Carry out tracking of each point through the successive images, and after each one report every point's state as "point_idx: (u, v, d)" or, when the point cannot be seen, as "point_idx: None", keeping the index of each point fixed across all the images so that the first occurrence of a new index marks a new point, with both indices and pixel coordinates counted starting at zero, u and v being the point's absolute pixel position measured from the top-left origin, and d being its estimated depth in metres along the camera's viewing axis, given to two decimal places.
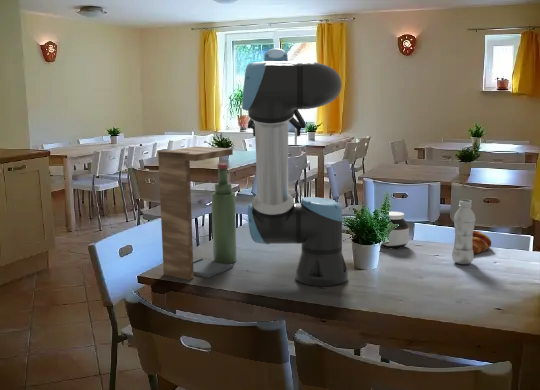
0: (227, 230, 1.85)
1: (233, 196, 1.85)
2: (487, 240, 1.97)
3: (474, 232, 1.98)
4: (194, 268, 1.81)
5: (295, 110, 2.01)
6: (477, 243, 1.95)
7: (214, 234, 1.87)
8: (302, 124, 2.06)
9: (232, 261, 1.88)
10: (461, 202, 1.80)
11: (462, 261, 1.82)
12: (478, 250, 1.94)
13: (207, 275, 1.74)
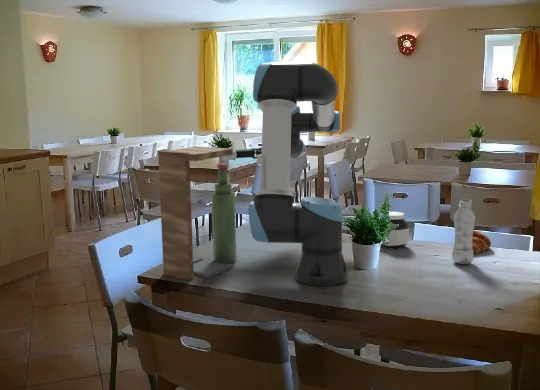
0: (227, 230, 1.85)
1: (233, 196, 1.85)
2: (486, 240, 1.97)
3: (473, 232, 1.99)
4: (194, 268, 1.81)
5: None
6: (476, 243, 1.95)
7: (214, 234, 1.87)
8: None
9: (232, 261, 1.88)
10: (461, 202, 1.80)
11: (462, 261, 1.82)
12: (477, 250, 1.94)
13: (207, 275, 1.74)
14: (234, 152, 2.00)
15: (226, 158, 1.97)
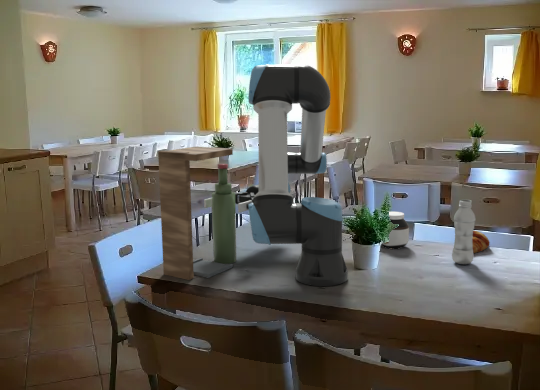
0: (227, 230, 1.85)
1: (233, 196, 1.85)
2: (485, 240, 1.98)
3: None
4: (194, 268, 1.81)
5: None
6: (474, 243, 1.96)
7: (214, 234, 1.87)
8: None
9: (232, 261, 1.88)
10: (461, 202, 1.80)
11: (462, 261, 1.82)
12: (475, 250, 1.95)
13: (207, 275, 1.74)
14: None
15: (207, 205, 1.91)
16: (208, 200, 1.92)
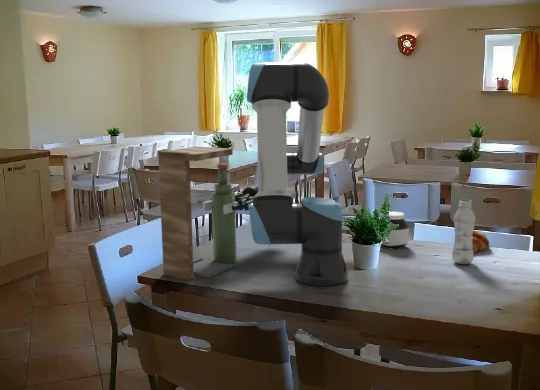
0: (227, 230, 1.85)
1: (233, 196, 1.85)
2: (484, 240, 1.98)
3: None
4: (194, 268, 1.81)
5: None
6: (473, 243, 1.96)
7: (214, 234, 1.87)
8: (248, 201, 1.87)
9: (232, 261, 1.88)
10: (461, 202, 1.80)
11: (462, 261, 1.82)
12: (474, 250, 1.95)
13: (207, 275, 1.74)
14: None
15: (206, 208, 1.86)
16: (207, 203, 1.86)
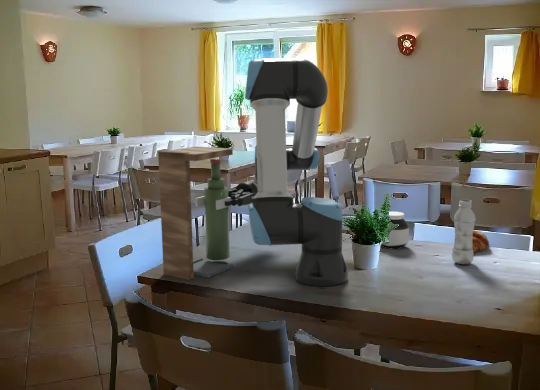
0: (220, 226, 1.83)
1: (226, 191, 1.83)
2: (484, 240, 1.98)
3: None
4: (194, 268, 1.81)
5: (252, 193, 1.90)
6: (473, 242, 1.96)
7: (207, 230, 1.84)
8: (241, 197, 1.84)
9: (225, 257, 1.85)
10: (461, 202, 1.80)
11: (462, 261, 1.82)
12: (473, 249, 1.95)
13: (207, 275, 1.74)
14: None
15: (199, 204, 1.84)
16: (199, 199, 1.84)
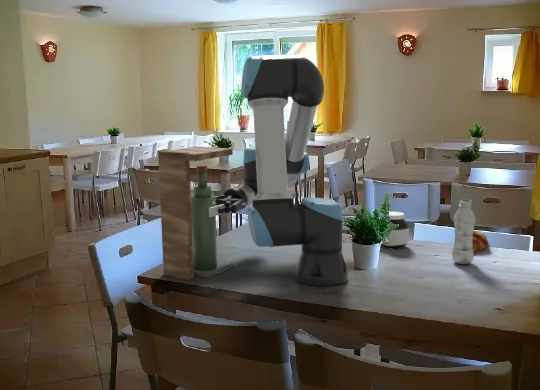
0: (207, 235, 1.77)
1: (213, 200, 1.77)
2: (483, 240, 1.98)
3: None
4: None
5: (242, 200, 1.85)
6: (472, 242, 1.96)
7: (193, 239, 1.79)
8: (234, 204, 1.79)
9: (212, 267, 1.80)
10: (461, 202, 1.80)
11: (462, 261, 1.82)
12: None
13: (207, 275, 1.74)
14: None
15: None
16: None
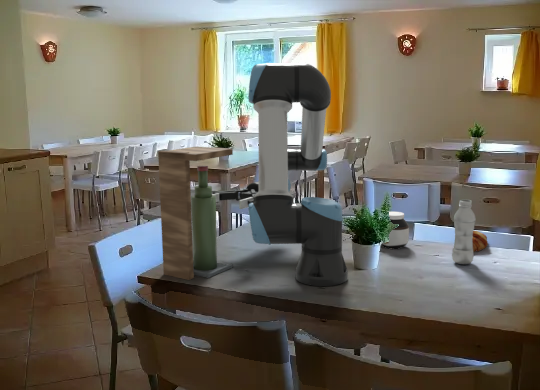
0: (207, 235, 1.77)
1: (213, 200, 1.77)
2: (483, 240, 1.98)
3: None
4: None
5: None
6: None
7: (193, 239, 1.79)
8: None
9: (212, 268, 1.80)
10: (461, 202, 1.80)
11: (462, 261, 1.82)
12: None
13: (207, 275, 1.74)
14: (217, 195, 1.95)
15: None
16: None
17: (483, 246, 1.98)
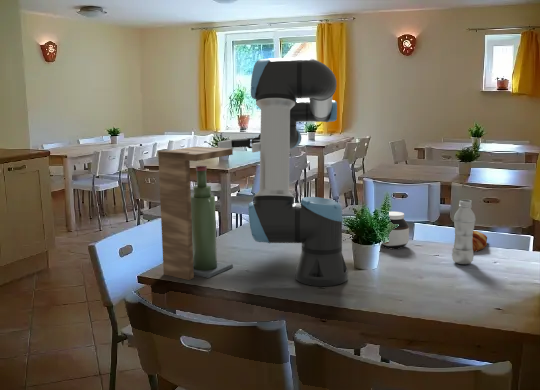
0: (207, 235, 1.77)
1: (212, 199, 1.77)
2: (481, 240, 1.98)
3: None
4: None
5: None
6: None
7: (193, 239, 1.79)
8: None
9: (212, 267, 1.80)
10: (461, 202, 1.80)
11: (462, 261, 1.82)
12: None
13: (207, 275, 1.74)
14: (229, 141, 1.97)
15: (221, 147, 1.94)
16: (222, 142, 1.94)
17: (482, 246, 1.98)
